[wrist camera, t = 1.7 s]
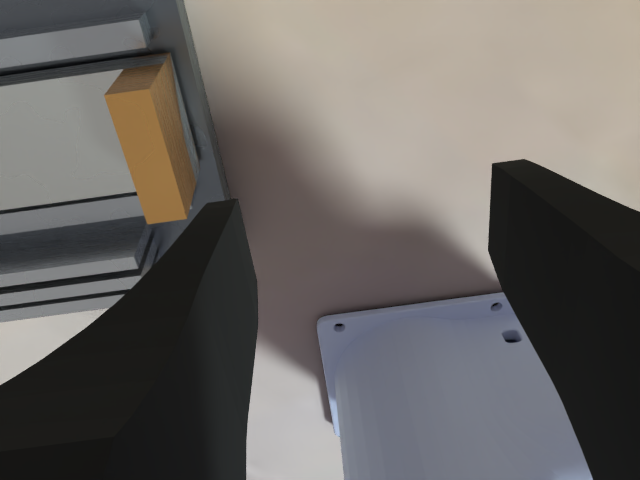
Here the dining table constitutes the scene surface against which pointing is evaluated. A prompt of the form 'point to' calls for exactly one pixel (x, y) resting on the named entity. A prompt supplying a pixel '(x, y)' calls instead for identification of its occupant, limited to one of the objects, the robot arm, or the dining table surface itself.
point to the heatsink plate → (106, 211)
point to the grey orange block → (98, 136)
